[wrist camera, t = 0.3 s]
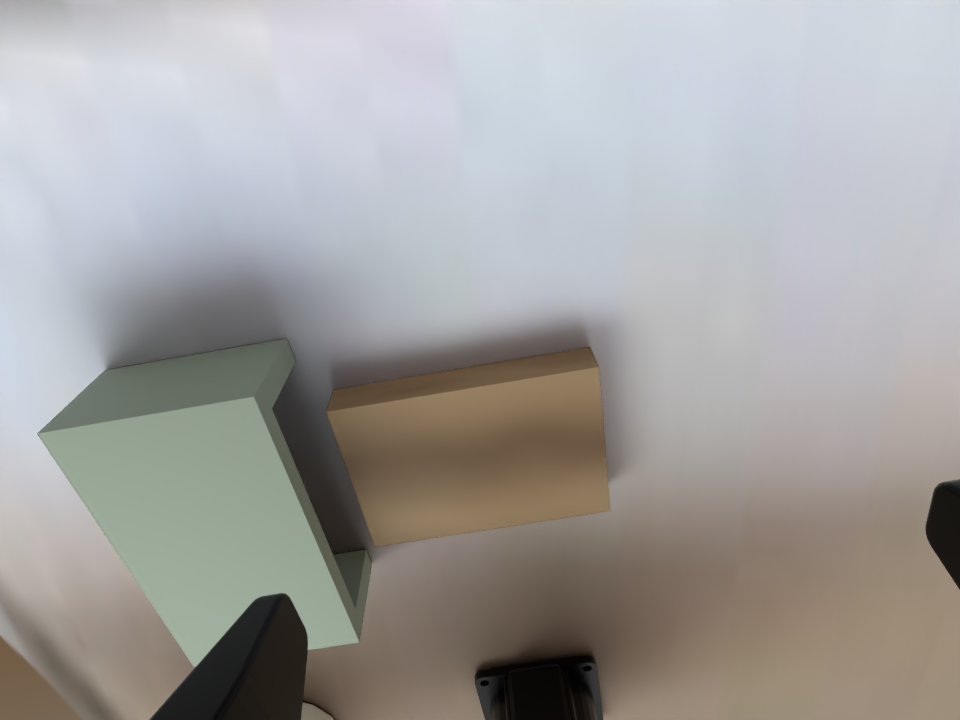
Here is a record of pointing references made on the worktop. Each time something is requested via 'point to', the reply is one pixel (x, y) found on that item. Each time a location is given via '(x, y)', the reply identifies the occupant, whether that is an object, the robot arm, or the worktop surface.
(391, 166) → the worktop surface
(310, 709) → the white cup
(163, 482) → the green channel beam
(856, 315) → the worktop surface
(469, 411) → the board
